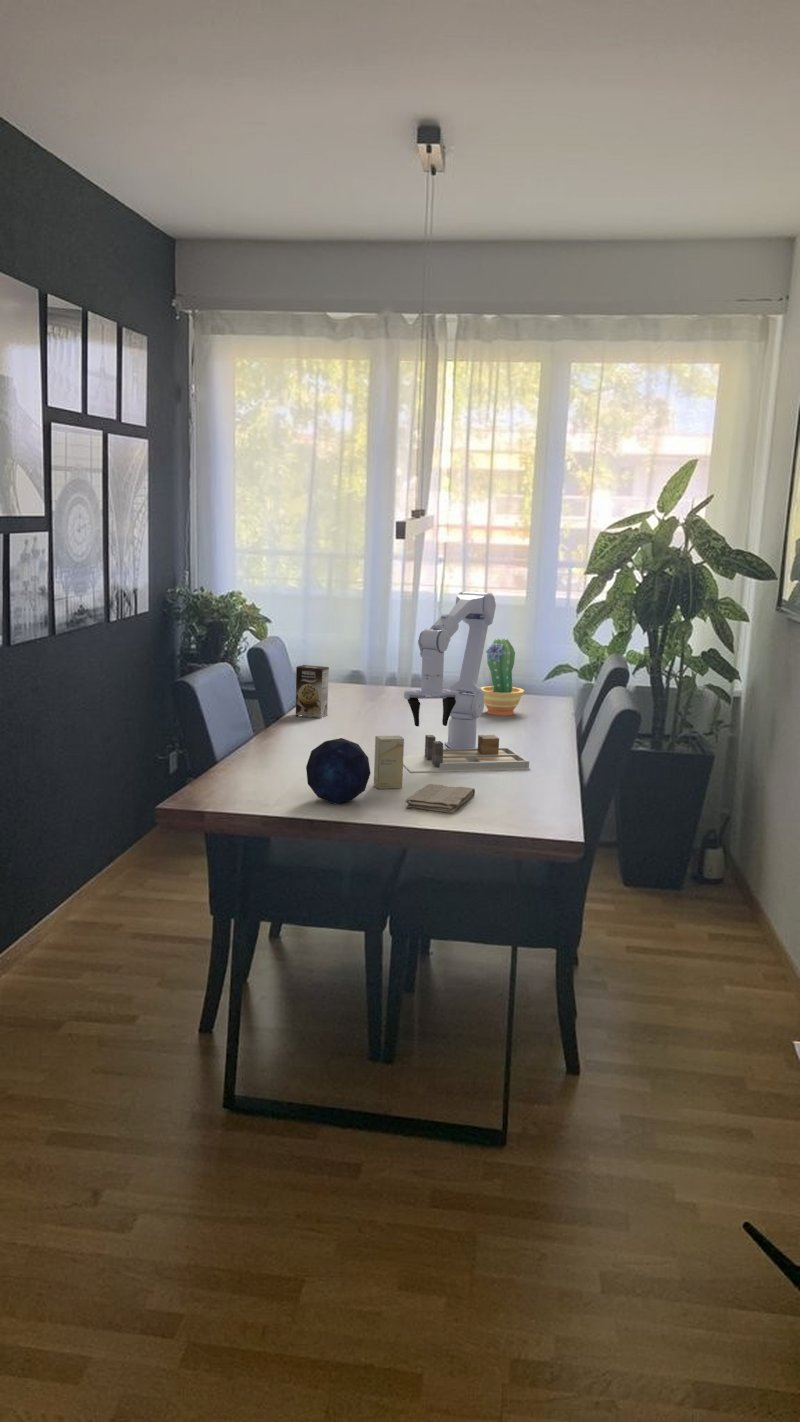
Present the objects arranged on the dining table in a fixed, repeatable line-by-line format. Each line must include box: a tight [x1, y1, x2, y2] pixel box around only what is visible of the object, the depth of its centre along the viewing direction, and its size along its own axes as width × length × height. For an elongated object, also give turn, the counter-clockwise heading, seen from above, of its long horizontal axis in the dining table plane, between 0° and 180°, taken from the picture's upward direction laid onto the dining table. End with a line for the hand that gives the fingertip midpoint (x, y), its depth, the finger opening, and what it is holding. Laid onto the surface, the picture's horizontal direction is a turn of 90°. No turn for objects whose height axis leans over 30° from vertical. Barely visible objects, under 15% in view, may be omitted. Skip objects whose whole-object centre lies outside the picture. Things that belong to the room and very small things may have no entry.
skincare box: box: [373, 735, 405, 790], centre depth 247 cm, size 6×4×12 cm
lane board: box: [403, 746, 531, 774], centre depth 275 cm, size 18×32×2 cm, turn 102°
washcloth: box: [405, 783, 476, 815], centre depth 236 cm, size 12×18×3 cm, turn 162°
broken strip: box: [432, 740, 517, 766], centre depth 271 cm, size 6×22×6 cm, turn 102°
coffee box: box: [295, 664, 330, 719], centre depth 334 cm, size 9×6×16 cm
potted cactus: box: [480, 638, 525, 716], centre depth 347 cm, size 15×15×25 cm
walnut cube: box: [477, 734, 500, 755], centre depth 280 cm, size 4×4×4 cm
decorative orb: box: [305, 737, 371, 804], centre depth 234 cm, size 14×15×15 cm
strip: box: [424, 734, 507, 759], centre depth 279 cm, size 6×22×6 cm, turn 102°
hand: (430, 725), depth 275 cm, fingers open, 7 cm apart
